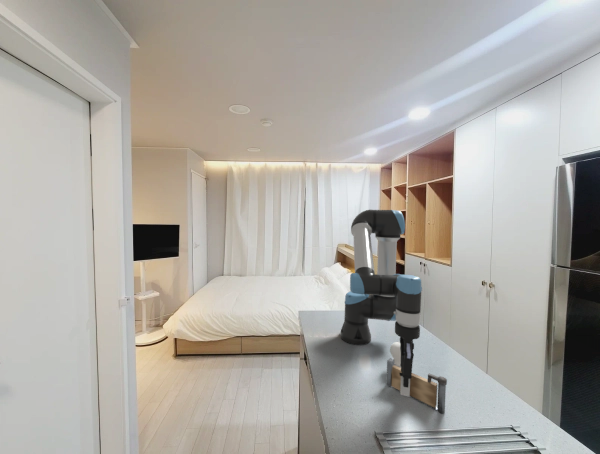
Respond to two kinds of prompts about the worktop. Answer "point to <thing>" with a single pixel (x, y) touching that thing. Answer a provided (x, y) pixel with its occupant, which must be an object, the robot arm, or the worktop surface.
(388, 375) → the gate frame
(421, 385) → the gate
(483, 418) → the worktop surface
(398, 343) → the light bulb
